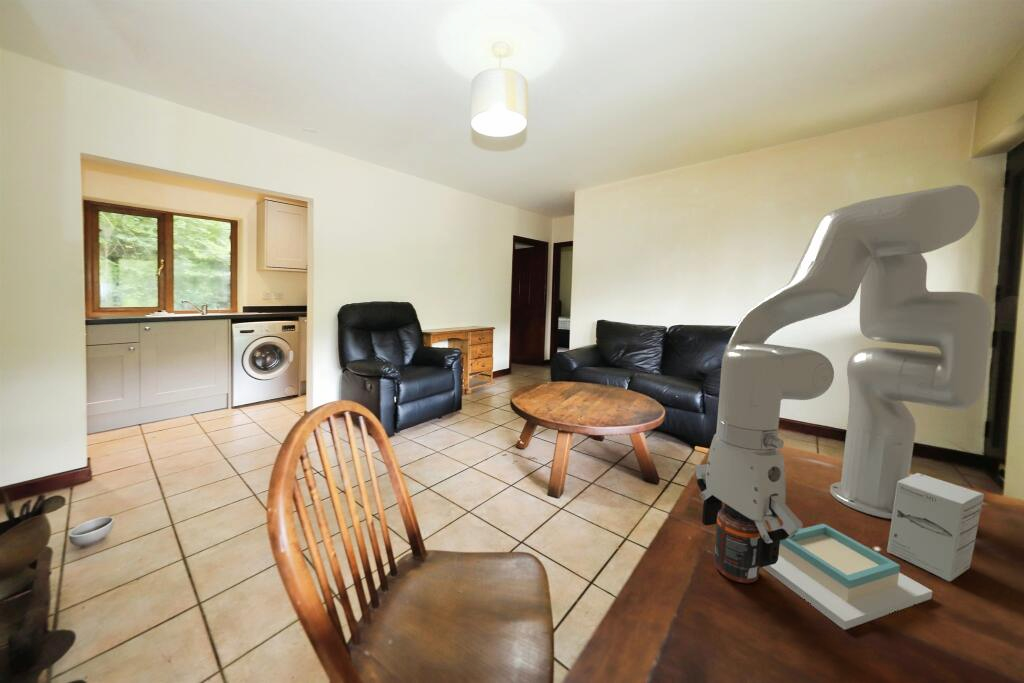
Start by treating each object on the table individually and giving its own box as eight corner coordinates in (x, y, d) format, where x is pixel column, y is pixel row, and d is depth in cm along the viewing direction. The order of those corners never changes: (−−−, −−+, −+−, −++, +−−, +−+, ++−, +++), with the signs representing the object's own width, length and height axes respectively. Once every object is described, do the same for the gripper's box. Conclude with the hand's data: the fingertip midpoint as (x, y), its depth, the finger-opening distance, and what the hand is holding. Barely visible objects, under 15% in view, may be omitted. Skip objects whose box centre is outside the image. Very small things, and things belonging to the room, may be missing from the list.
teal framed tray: (823, 536, 65) (825, 513, 65) (931, 598, 52) (935, 569, 51) (747, 556, 61) (749, 531, 60) (844, 629, 47) (848, 598, 47)
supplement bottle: (766, 588, 54) (772, 516, 53) (721, 582, 55) (726, 511, 54) (749, 560, 60) (754, 493, 58) (708, 555, 61) (713, 490, 60)
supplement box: (884, 552, 61) (894, 479, 60) (907, 540, 64) (917, 471, 63) (950, 584, 55) (963, 503, 53) (973, 569, 57) (985, 492, 56)
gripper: (828, 455, 47) (814, 578, 50) (718, 413, 64) (711, 507, 66) (783, 462, 45) (771, 590, 47) (682, 417, 62) (676, 514, 64)
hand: (736, 542), depth 57 cm, fingers open, 9 cm apart
